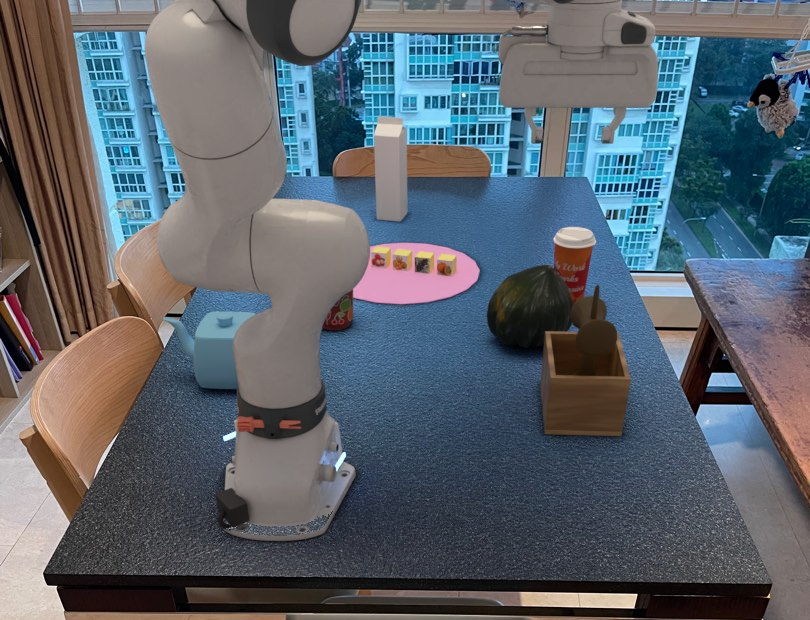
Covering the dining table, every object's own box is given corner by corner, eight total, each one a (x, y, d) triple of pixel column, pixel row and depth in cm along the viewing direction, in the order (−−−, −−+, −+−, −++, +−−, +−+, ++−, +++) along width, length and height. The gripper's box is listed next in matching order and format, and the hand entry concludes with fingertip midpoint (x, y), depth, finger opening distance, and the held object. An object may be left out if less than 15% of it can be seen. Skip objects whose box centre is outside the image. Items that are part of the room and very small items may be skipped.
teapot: (184, 358, 155) (172, 297, 148) (284, 361, 154) (277, 299, 147) (164, 394, 146) (150, 330, 138) (271, 397, 144) (263, 332, 137)
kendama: (566, 421, 136) (581, 299, 123) (559, 390, 143) (572, 271, 131) (605, 421, 136) (624, 298, 123) (596, 389, 143) (613, 271, 130)
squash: (469, 297, 161) (498, 255, 146) (542, 286, 165) (577, 246, 151) (490, 369, 159) (522, 335, 145) (563, 357, 163) (600, 322, 149)
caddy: (621, 436, 134) (631, 379, 128) (544, 434, 134) (550, 377, 128) (610, 386, 145) (618, 332, 139) (540, 385, 146) (545, 331, 140)
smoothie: (351, 335, 161) (345, 227, 148) (307, 332, 163) (297, 224, 150) (362, 316, 167) (357, 210, 155) (319, 313, 169) (311, 207, 156)
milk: (384, 211, 212) (381, 112, 198) (408, 213, 211) (406, 114, 197) (376, 220, 208) (372, 119, 194) (400, 222, 206) (398, 121, 192)
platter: (359, 237, 199) (358, 222, 197) (496, 252, 191) (497, 236, 189) (301, 293, 176) (300, 277, 174) (455, 313, 168) (455, 296, 166)
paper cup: (541, 309, 169) (547, 236, 160) (555, 294, 174) (562, 223, 165) (580, 316, 166) (589, 243, 157) (593, 301, 171) (602, 229, 162)
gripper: (499, 30, 108) (494, 149, 117) (669, 29, 107) (650, 149, 115) (499, 21, 113) (494, 135, 122) (660, 20, 112) (643, 136, 120)
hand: (571, 142), depth 119 cm, fingers open, 8 cm apart
